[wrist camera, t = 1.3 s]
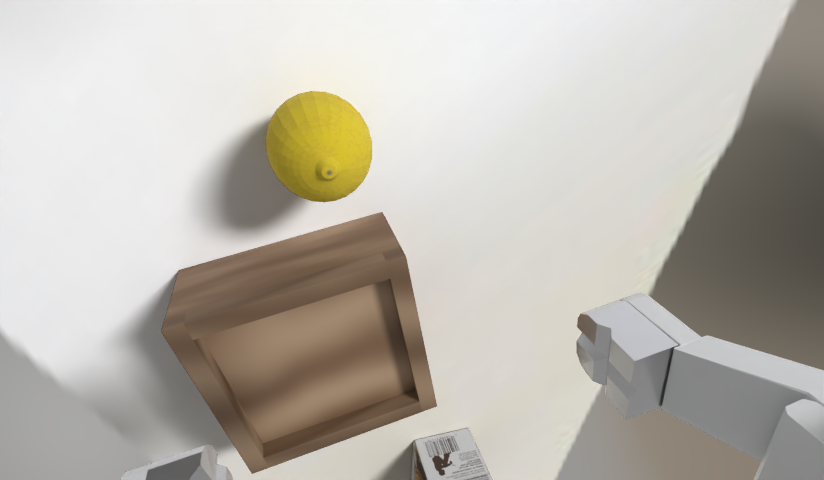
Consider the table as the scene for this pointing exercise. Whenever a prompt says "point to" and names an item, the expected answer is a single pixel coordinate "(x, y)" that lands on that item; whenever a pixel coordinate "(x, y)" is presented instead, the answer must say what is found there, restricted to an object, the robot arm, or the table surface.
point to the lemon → (319, 146)
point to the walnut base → (303, 340)
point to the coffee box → (448, 458)
